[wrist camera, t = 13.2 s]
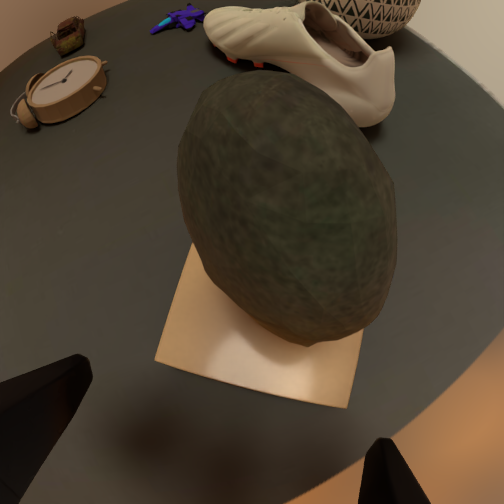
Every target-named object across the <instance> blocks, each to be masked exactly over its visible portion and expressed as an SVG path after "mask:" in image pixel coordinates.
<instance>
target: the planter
mask: <svg viewBox="0 0 504 504" xmlns="http://www.w3.org/2000/svg"><path fill="white" fill-rule="evenodd" d="M297 1H298V3H299V4H300V3H302V2H306V1H315V2H319V3H321V4H323V5H325V6H326V7H327V8H328V9H329V10H330V12H331V13H332V14H334V15H337V16H339V17H340V18H341V19H342V20H343V21H345V22H346V23H347V24H349V25H350V26H351V27H352V28H353V29H354V30H355V32H356V33H357V34H358V35H359V36H360V37H361V38H362V39H376V38H381V37H385V36H388V35H390V34H393V33H395V32H397V31H399V30H400V29H402V28H403V27H404V26H405V25H406V24H407V23H408V22H409V21H410V20H411V18H412V17H413V15H414V14H415V12H416V10H417V9H418V7H419V4H420V2H421V0H297Z"/></svg>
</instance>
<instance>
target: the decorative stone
mask: <svg viewBox="0 0 504 504" xmlns="http://www.w3.org/2000/svg"><path fill="white" fill-rule="evenodd" d="M177 175H178V191H179V196H180V202H181V207H182V212H183V217H184V221H185V223H186V226H187V229H188V232H189V234H190V236H191V239H192V241H193V243H194V246H195V248H196V250H197V252H198V254H199V257H200V259H201V261H202V264H203V267H204V270H205V272H206V273H207V275H208V276H209V278H210V279H211V280H212V282H213V283H214V284H215V285H216V286H217V287H218V288H220V289H221V290H222V291H223V292H224V293H225V294H226V295H227V296H228V297H229V298H230V299H232V300H233V301H234V302H235V303H236V304H237V305H238V306H239V307H240V308H241V309H243V310H244V311H245V312H246V313H247V314H248V315H250V316H251V317H252V318H253V319H254V320H255V321H256V322H257V323H258V324H259V325H261V326H262V327H263V328H265V329H266V330H268V331H270V332H271V333H273V334H275V335H277V336H278V337H280V338H282V339H284V340H286V341H288V342H290V343H294V344H298V345H302V346H304V347H310V346H312V345H314V344H316V343H318V342H325V341H336V340H340V339H342V338H345V337H347V336H350V335H352V334H354V333H357V332H358V331H360V330H362V329H363V328H365V327H366V326H368V325H369V324H370V323H371V322H372V321H373V320H374V319H375V318H376V317H377V316H378V315H379V313H380V311H381V310H382V307H383V305H384V303H385V300H386V298H387V295H388V292H389V288H390V285H391V281H392V278H393V274H394V270H395V266H396V261H397V222H396V205H395V192H394V183H393V181H392V179H391V177H390V176H389V174H388V172H387V171H386V169H385V167H384V166H383V164H382V162H381V161H380V159H379V158H378V156H377V154H376V153H375V151H374V150H373V148H372V146H371V145H370V143H369V142H368V140H367V139H366V137H365V136H364V135H363V133H362V132H361V130H360V129H359V127H358V126H357V125H356V123H355V122H354V120H353V119H352V118H351V117H350V115H349V114H348V113H347V112H346V111H345V110H344V108H343V107H342V106H341V105H340V104H339V103H337V102H336V101H335V100H334V99H333V98H332V97H330V96H329V95H328V94H327V93H325V92H324V91H323V90H321V89H319V88H318V87H316V86H314V85H313V84H311V83H309V82H307V81H306V80H304V79H302V78H300V77H298V76H297V75H295V74H291V73H284V72H276V71H267V70H255V71H250V72H244V73H239V74H236V75H233V76H230V77H227V78H224V79H221V80H219V81H217V82H216V83H214V84H213V85H211V86H210V87H209V88H207V89H206V90H204V91H203V92H202V94H201V96H200V98H199V100H198V103H197V105H196V107H195V109H194V111H193V114H192V116H191V118H190V120H189V123H188V125H187V127H186V130H185V132H184V134H183V137H182V139H181V141H180V144H179V149H178V158H177Z"/></svg>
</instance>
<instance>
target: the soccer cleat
mask: <svg viewBox="0 0 504 504" xmlns="http://www.w3.org/2000/svg"><path fill="white" fill-rule="evenodd" d="M203 23H204V30H205V32H206V34H207V36H208V38H209V40H210V41H211V42H212V43H213V45H214V47H217V48H219V49H220V50H221V51H222V52H224V53H225V54H226V56H227V59H228V60H229V61H231V62H233V63H237V61H238V59H239V58H240V59H247V60H252V61H253V62H254V66H255V67H263V63H264V62H267V63H270V64H273V65H276V66H278V67H281V68H283V69H285V70H287V71H288V72H290V73H291V74H295V75H297V76H298V77H300V78H302V79H304V80H306V81H307V82H309V83H311V84H313V85H314V86H316V87H318V88H319V89H321V90H323V91H324V92H325V93H327V94H328V95H329V96H330V97H332V98H333V99H334V100H335V101H336V102H337V103H339V104H340V105H341V106H342V107H343V108H344V110H345V111H346V112H347V113H348V114H349V115H350V117H351V118H352V119H353V120H354V122H355V123H356V125H357V126H358V127H369V126H372V125H375V124H377V123H379V122H381V121H382V120H384V119H385V118H386V117H387V116H388V115H389V113H390V111H391V109H392V107H393V104H394V100H395V86H394V71H395V61H394V52H393V50H392V47H390V46H389V47H387V49H384V50H380V51H376V52H375V51H374V50H373V49H372V48H371V47H370V46H369V45H368V44H367V43H366V42H365V41H364V40H363V39H362V38H361V37H360V36H359V35H358V34H357V33H356V32H355V30H354V29H353V28H352V27H351V26H350V25H349V24H347V23H346V22H345V21H343V20H342V19H341V18H340V17H339V16H337V15H334V14H332V13H331V12H330V10H329V9H328V8H327V7H326V6H325V5H323V4H321V3H319V2H315V1H306V2H302V3H300V4H298V5H296V6H293V7H275V8H273V9H266V10H263V9H250V8H246V7H235V6H230V7H222V8H218V9H215V10H212V11H211V12H209V13H208V14H207V15H206V17H205V18H204V22H203Z"/></svg>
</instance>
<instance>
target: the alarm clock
mask: <svg viewBox="0 0 504 504" xmlns="http://www.w3.org/2000/svg"><path fill="white" fill-rule="evenodd" d="M105 64H107V61H104V62H101V60H99V59H98V58H97V57H94V56H81V57H77V58H73V59H70V60H68V61H66V62H63V63H61V64H59V65H57V66H56V67H54V68H53V69H51V70H49V71H48V72H47V73H46V74H43V73H40V74H37V75H34V76H33V77H32V78H31V79H30V80H29V82H28V84H27V86H26V92H25V93H23V94H22V95H21V96H20V97H19V98H18V99H17V100H16V101H15V103H14V104H13V106H12V108H11V115H12V117H13V118H14V120H16V121H17V124H19V123H22V124H23V125H24V126H25V127H27V128H35V127H37V126H38V123H37V121H36V119H35V117H34V115H33V113H32V112H34V113H35V115H36V117H37V120H38V121H40V122H42V123H55V122H59V121H63V120H65V119H68V118H70V117H72V116H74V115H76V114H78V113H79V112H81V111H82V110H84V109H86V108H87V107H88V106H89V105H91V104H92V103H93V102H94V101H95V100H96V99H97V98H98V97H99V96H100V95H101V93H102V92H103V91H104V89H105V86H106V84H107V81H106V76H105V74H104V71H103V68H102V66H104V65H105ZM25 98H27V101H28V103H26V101H25ZM28 105H30V107H31V108H32V110H30V108H29V106H28ZM16 109H17V114H18V117H17V116H16V115H15V111H16Z"/></svg>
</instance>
